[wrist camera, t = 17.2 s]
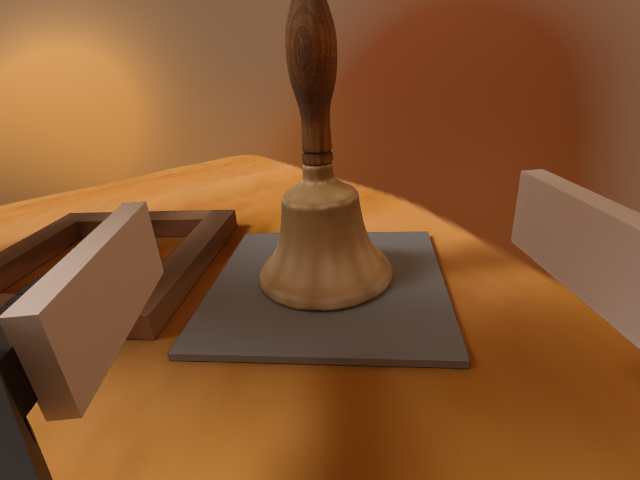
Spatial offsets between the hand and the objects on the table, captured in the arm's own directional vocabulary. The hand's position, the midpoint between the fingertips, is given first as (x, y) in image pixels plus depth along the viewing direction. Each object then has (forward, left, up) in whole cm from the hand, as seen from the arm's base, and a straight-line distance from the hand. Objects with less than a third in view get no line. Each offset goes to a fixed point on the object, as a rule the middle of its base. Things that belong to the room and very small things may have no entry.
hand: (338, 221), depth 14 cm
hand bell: (-2, +9, -7) cm, 12 cm away
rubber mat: (-2, +8, -8) cm, 11 cm away
